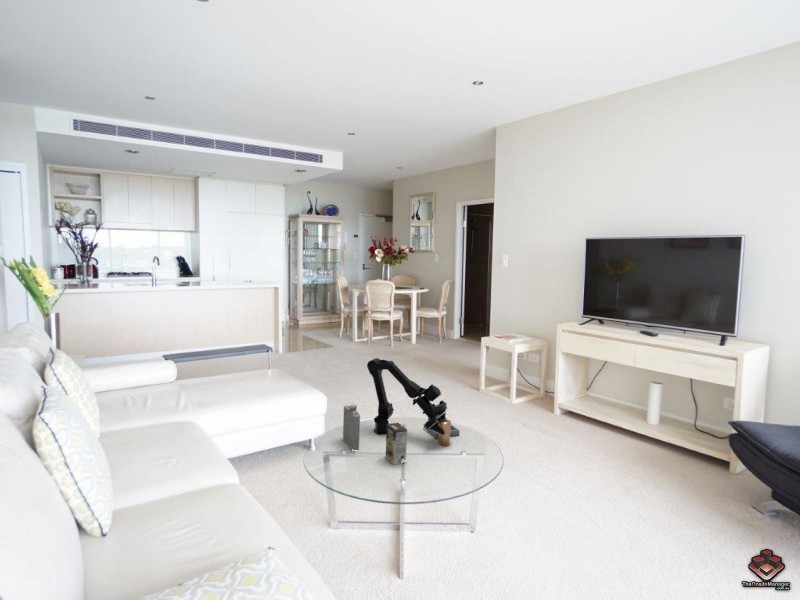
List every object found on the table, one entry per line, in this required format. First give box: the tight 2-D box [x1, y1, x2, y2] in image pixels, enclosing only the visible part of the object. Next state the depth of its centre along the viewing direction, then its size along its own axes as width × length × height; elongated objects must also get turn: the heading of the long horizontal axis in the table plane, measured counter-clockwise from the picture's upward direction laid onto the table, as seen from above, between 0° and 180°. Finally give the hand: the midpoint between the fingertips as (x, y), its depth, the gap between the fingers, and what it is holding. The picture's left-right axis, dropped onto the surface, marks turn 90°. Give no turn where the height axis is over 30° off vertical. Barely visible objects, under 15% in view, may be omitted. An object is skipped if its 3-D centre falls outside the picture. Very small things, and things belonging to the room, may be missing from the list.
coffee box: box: [385, 422, 408, 466], centre depth 215 cm, size 9×6×16 cm
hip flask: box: [342, 404, 361, 451], centre depth 229 cm, size 16×4×20 cm, turn 27°
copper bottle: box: [437, 417, 452, 448], centre depth 234 cm, size 6×6×14 cm
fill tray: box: [423, 423, 460, 440], centre depth 249 cm, size 14×14×3 cm
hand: (446, 431), depth 234 cm, fingers open, 9 cm apart
